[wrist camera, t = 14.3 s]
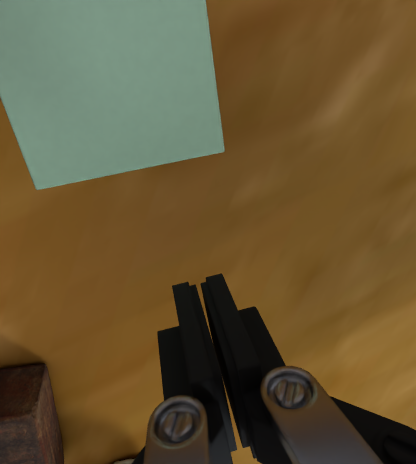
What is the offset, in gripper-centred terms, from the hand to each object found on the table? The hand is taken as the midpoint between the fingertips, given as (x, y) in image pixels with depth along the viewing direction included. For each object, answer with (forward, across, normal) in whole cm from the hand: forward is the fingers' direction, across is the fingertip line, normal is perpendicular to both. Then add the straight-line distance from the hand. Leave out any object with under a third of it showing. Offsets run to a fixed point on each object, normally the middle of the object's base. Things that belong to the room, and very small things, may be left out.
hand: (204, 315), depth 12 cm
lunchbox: (+6, +1, -7) cm, 9 cm away
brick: (+13, +14, +16) cm, 25 cm away
